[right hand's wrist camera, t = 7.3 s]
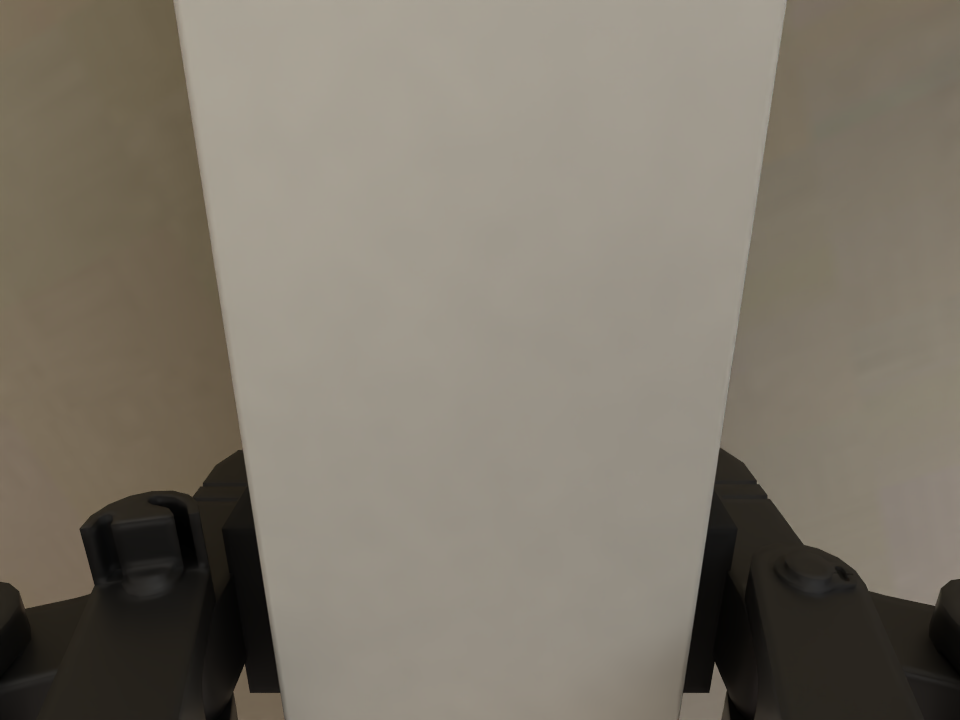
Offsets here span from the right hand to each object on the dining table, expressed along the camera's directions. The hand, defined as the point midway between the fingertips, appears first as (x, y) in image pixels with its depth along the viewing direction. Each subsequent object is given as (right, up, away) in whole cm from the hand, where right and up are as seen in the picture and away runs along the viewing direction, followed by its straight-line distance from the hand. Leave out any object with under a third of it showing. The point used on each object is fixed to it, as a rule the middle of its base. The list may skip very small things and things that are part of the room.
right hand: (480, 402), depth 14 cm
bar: (0, +21, -8) cm, 22 cm away
